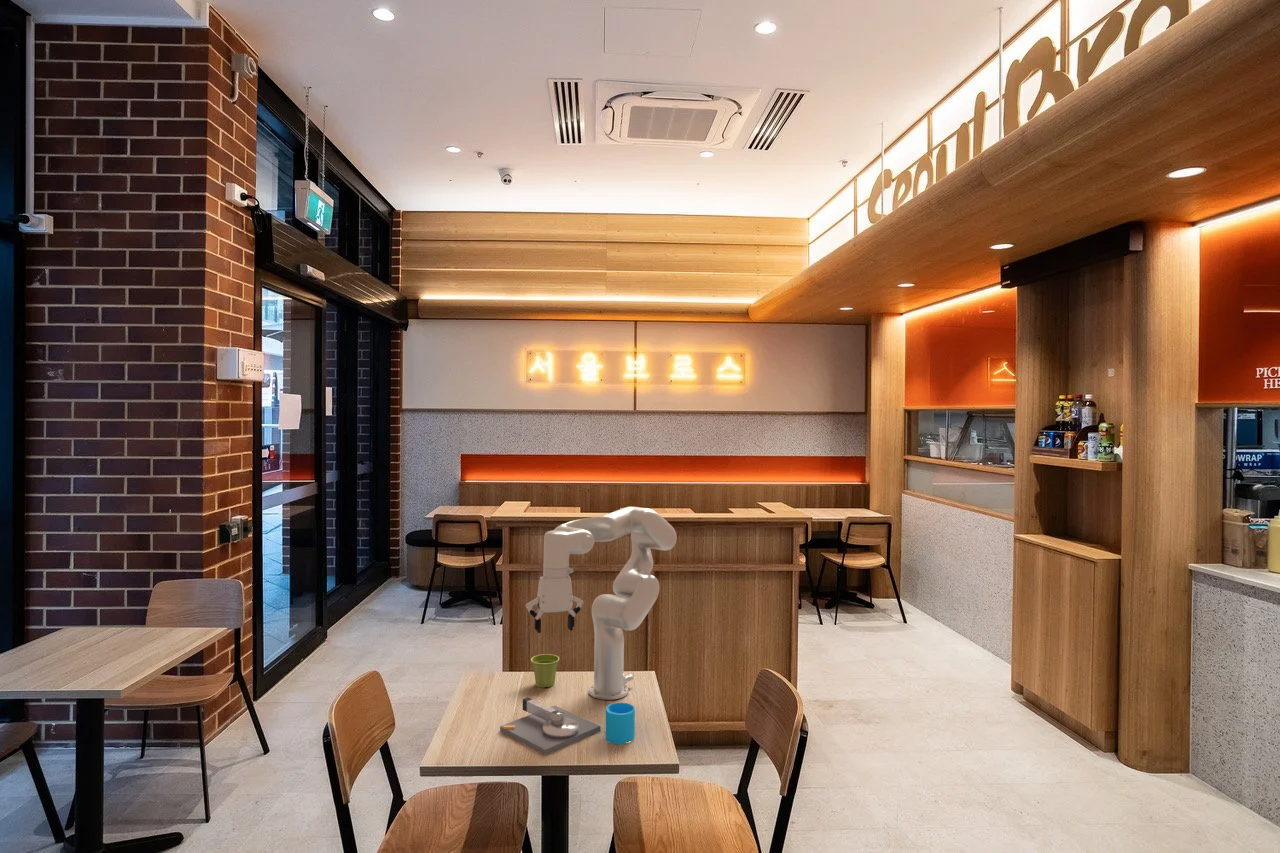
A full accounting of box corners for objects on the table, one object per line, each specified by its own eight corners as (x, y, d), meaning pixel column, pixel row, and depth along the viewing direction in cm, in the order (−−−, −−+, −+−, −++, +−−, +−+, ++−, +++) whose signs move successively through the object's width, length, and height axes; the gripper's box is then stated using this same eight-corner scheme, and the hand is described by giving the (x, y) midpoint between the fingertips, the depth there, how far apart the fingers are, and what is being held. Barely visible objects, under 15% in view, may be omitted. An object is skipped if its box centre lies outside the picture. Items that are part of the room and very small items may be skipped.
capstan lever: (538, 708, 211) (538, 693, 211) (586, 730, 197) (586, 714, 196) (511, 718, 204) (511, 702, 203) (558, 742, 189) (558, 725, 189)
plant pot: (524, 686, 232) (525, 660, 232) (541, 677, 240) (541, 652, 240) (548, 692, 227) (548, 665, 227) (564, 682, 236) (564, 656, 236)
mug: (634, 744, 192) (634, 715, 192) (604, 744, 192) (604, 714, 192) (635, 725, 204) (636, 697, 204) (607, 724, 204) (608, 696, 204)
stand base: (554, 710, 213) (554, 703, 213) (600, 731, 200) (600, 723, 200) (499, 731, 199) (499, 724, 199) (544, 755, 185) (544, 747, 185)
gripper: (580, 569, 215) (578, 625, 215) (524, 571, 209) (522, 629, 209) (587, 574, 208) (586, 631, 208) (529, 577, 202) (528, 636, 202)
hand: (554, 630), depth 209 cm, fingers open, 9 cm apart
